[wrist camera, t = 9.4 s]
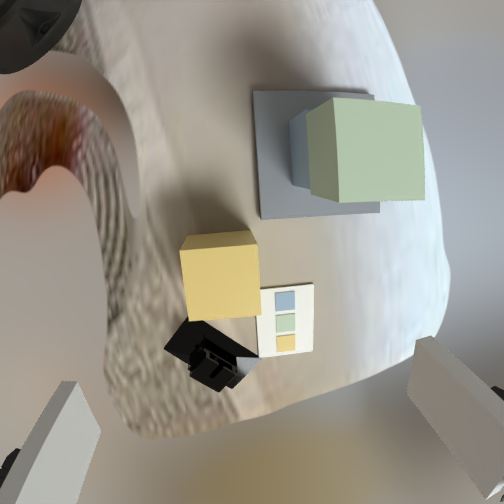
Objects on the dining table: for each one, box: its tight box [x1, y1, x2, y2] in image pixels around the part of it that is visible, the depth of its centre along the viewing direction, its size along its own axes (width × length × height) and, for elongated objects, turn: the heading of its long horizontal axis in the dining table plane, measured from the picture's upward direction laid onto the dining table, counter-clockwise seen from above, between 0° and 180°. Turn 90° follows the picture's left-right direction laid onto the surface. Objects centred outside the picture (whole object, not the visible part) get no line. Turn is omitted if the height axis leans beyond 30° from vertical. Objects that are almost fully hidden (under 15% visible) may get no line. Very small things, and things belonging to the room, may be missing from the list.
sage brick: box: [306, 98, 425, 203], centre depth 20 cm, size 6×6×6 cm
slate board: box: [252, 90, 380, 220], centre depth 29 cm, size 12×12×1 cm
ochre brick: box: [180, 230, 262, 321], centre depth 28 cm, size 6×6×6 cm
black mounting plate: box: [164, 317, 262, 392], centre depth 32 cm, size 12×7×5 cm, turn 51°
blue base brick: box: [289, 110, 312, 189], centre depth 25 cm, size 6×6×6 cm
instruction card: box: [256, 284, 314, 358], centre depth 33 cm, size 8×6×1 cm
